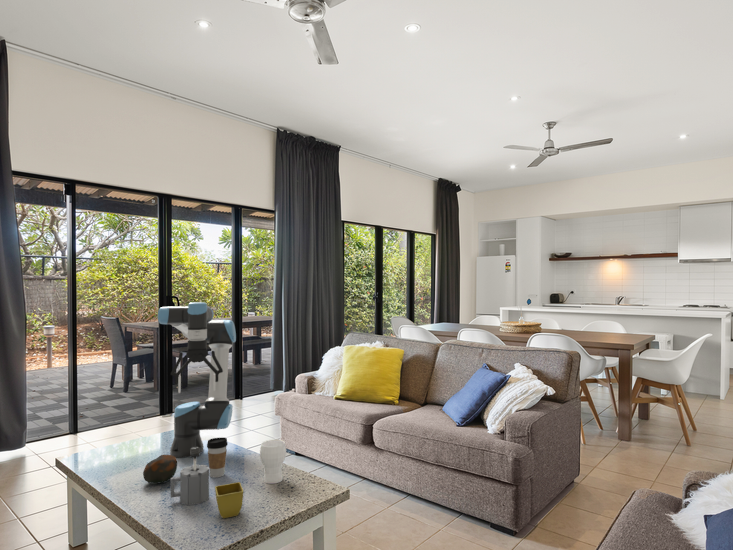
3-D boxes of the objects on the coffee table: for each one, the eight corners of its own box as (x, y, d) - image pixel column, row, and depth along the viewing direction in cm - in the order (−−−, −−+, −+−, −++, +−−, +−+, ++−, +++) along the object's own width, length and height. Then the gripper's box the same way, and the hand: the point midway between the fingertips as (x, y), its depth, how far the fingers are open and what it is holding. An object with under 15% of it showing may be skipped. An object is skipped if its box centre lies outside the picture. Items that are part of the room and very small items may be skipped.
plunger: (186, 490, 177) (186, 446, 177) (204, 488, 179) (204, 444, 179) (185, 497, 171) (185, 452, 171) (203, 495, 173) (203, 450, 173)
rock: (150, 491, 182) (150, 465, 182) (138, 483, 189) (138, 458, 189) (183, 480, 192) (183, 455, 192) (170, 473, 199) (170, 449, 199)
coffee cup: (221, 479, 192) (221, 443, 193) (202, 478, 194) (202, 441, 194) (231, 471, 200) (231, 436, 201) (213, 470, 202) (213, 435, 203)
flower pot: (217, 523, 156) (217, 495, 157) (214, 511, 164) (214, 485, 165) (243, 517, 160) (243, 491, 160) (240, 506, 168) (240, 481, 168)
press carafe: (171, 496, 177) (172, 467, 177) (209, 491, 181) (209, 463, 181) (169, 508, 167) (169, 477, 168) (208, 502, 171) (208, 472, 172)
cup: (254, 480, 191) (254, 443, 192) (276, 472, 199) (276, 437, 199) (270, 487, 184) (270, 449, 184) (291, 479, 192) (291, 442, 192)
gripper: (163, 341, 185) (163, 395, 185) (228, 339, 193) (228, 390, 192) (165, 339, 192) (165, 391, 192) (228, 337, 200) (228, 387, 199)
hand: (197, 391), depth 192 cm, fingers open, 13 cm apart
